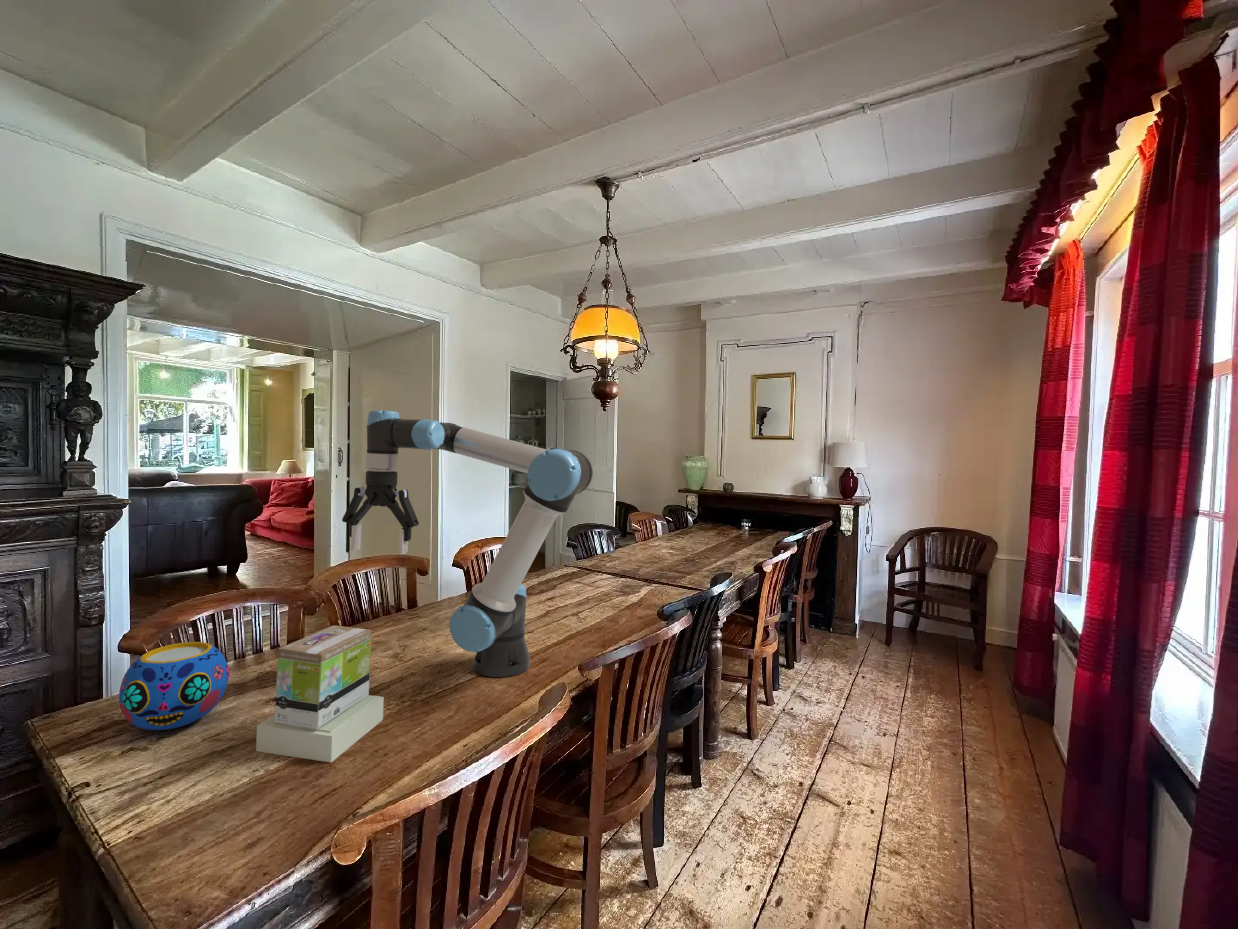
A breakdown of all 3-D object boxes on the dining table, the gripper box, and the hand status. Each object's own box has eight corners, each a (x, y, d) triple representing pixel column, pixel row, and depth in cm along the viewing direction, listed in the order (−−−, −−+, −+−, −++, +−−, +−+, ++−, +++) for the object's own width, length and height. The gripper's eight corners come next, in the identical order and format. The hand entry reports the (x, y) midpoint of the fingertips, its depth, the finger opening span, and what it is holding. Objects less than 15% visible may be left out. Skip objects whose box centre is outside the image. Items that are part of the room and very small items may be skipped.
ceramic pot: (101, 755, 97) (102, 675, 96) (135, 711, 112) (137, 642, 112) (218, 735, 105) (220, 661, 104) (235, 696, 121) (236, 632, 120)
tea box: (318, 731, 98) (321, 653, 98) (273, 724, 100) (274, 648, 100) (370, 695, 113) (373, 627, 112) (330, 689, 115) (332, 623, 114)
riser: (383, 719, 113) (383, 695, 113) (331, 762, 97) (331, 734, 97) (317, 711, 116) (317, 687, 116) (256, 751, 100) (256, 724, 100)
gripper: (434, 472, 137) (431, 552, 137) (348, 467, 141) (345, 545, 141) (418, 473, 129) (415, 557, 130) (328, 468, 133) (326, 550, 134)
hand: (379, 551), depth 136 cm, fingers open, 13 cm apart
